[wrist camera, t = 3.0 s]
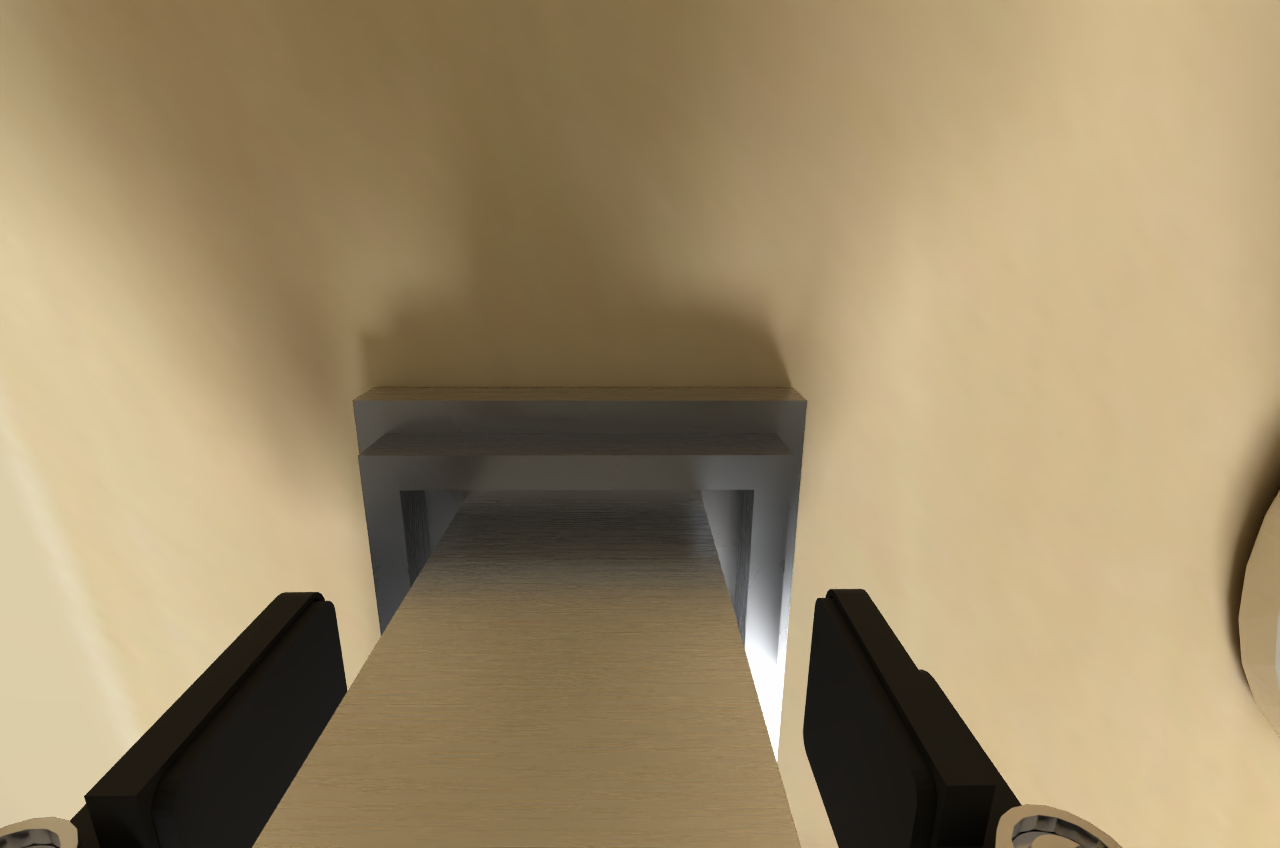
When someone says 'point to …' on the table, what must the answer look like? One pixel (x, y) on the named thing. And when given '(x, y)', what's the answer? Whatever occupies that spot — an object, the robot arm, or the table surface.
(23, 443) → the table surface
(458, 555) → the block
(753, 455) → the grey compartment tray
